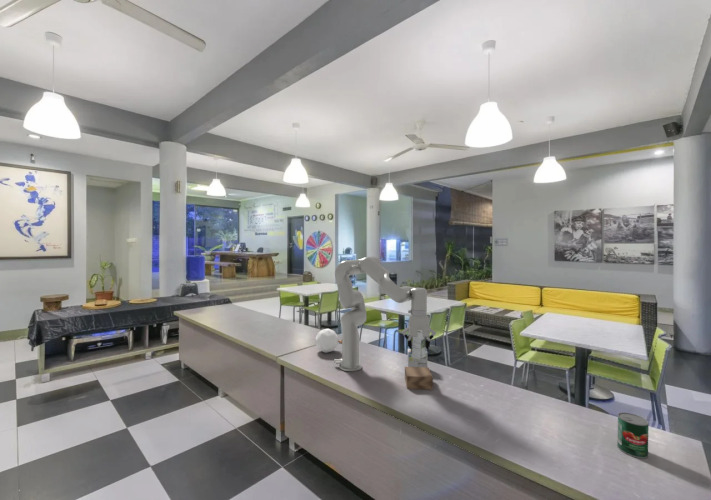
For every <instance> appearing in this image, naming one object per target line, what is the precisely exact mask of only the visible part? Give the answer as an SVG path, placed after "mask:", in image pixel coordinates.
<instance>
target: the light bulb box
mask: <svg viewBox="0 0 711 500" xmlns="http://www.w3.org/2000/svg"><path fill="white" fill-rule="evenodd" d="M410 356H411V349H409V347H408V348H407V367H428V351H427V350H426V357H424V358H423V359H421V360H420V359H416V358H412V357H410Z"/></svg>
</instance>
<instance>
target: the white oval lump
mask: <svg viewBox="0 0 711 500" xmlns="http://www.w3.org/2000/svg"><path fill="white" fill-rule="evenodd" d="M338 344H340V345H342V339H339V338H338V335H337V332H336V331H335V330H332V329H330V328H323V329H321V330H320V331H318V332H317V334H316V336H315V346H316V347H317V349H318V350H319V351H321V352H323V353H325V354H326V353H331V352H333V351H334V350H335V349H336V348H337V346H338Z"/></svg>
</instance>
